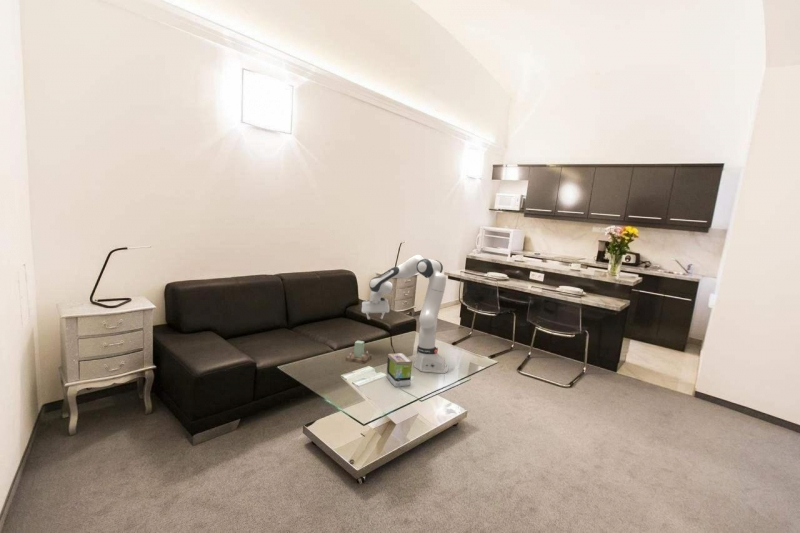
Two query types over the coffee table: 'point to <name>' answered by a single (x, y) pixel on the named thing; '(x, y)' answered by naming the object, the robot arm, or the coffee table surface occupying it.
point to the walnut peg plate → (363, 358)
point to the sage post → (359, 349)
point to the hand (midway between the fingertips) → (375, 319)
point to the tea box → (399, 369)
